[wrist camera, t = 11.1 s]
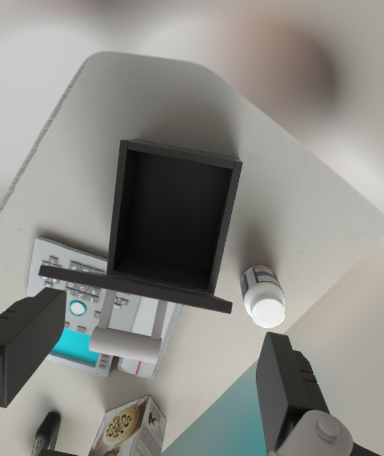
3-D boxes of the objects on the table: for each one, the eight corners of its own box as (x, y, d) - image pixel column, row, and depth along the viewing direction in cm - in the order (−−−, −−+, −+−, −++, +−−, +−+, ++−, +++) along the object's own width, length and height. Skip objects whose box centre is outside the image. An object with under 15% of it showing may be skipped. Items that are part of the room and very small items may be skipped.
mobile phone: (32, 432, 51) (18, 498, 55) (50, 437, 51) (35, 503, 55) (48, 407, 56) (34, 470, 60) (64, 412, 56) (50, 474, 60)
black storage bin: (135, 139, 42) (120, 139, 35) (239, 158, 42) (242, 162, 35) (121, 256, 47) (105, 275, 40) (214, 274, 46) (213, 297, 40)
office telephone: (189, 291, 45) (152, 399, 50) (190, 283, 47) (155, 387, 53) (29, 241, 44) (10, 356, 50) (39, 235, 47) (19, 345, 52)
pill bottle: (254, 304, 47) (262, 341, 39) (233, 278, 46) (236, 309, 38) (284, 285, 46) (299, 318, 37) (263, 257, 45) (274, 285, 37)
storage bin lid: (40, 264, 23) (18, 343, 22) (232, 302, 22) (219, 384, 21) (105, 274, 40) (94, 318, 39) (213, 295, 39) (205, 340, 38)
